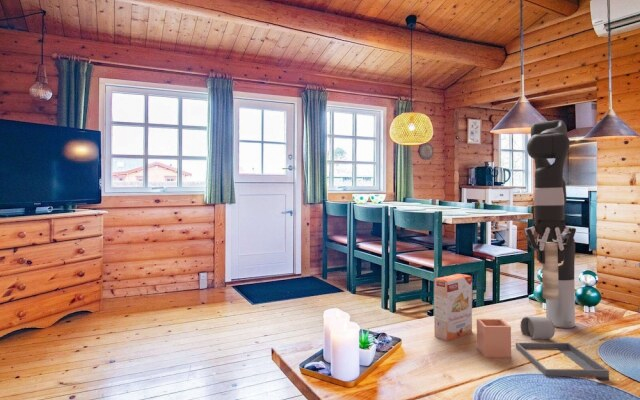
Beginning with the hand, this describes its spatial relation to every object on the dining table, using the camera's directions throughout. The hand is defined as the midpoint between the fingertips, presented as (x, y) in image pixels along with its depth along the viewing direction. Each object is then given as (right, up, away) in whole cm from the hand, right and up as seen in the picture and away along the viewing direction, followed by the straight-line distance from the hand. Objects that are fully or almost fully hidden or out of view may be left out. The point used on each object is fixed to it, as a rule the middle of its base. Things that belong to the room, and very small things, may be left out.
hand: (549, 262), depth 119 cm
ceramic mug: (+7, -29, +21) cm, 36 cm away
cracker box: (-20, -29, +23) cm, 43 cm away
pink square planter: (-13, -29, +7) cm, 33 cm away
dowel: (0, -10, 0) cm, 10 cm away
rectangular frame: (+2, -29, 0) cm, 29 cm away
